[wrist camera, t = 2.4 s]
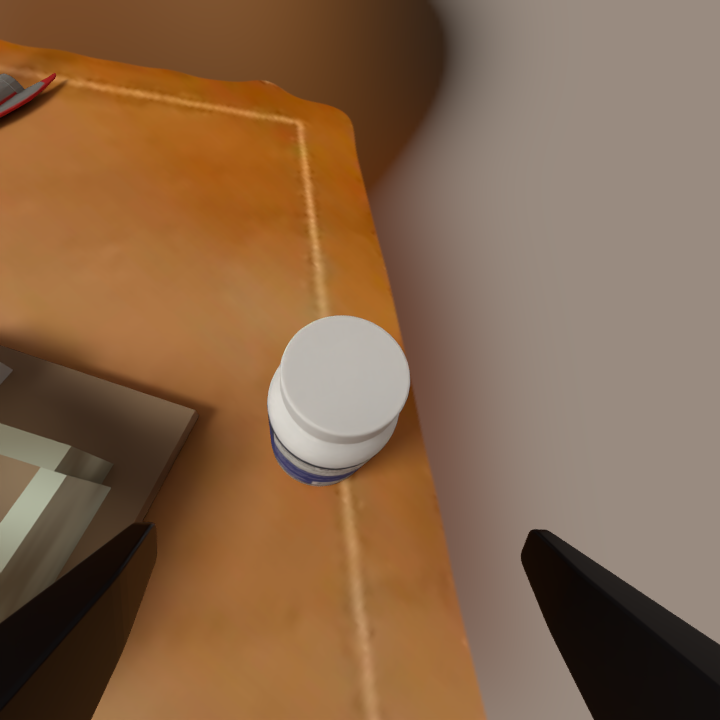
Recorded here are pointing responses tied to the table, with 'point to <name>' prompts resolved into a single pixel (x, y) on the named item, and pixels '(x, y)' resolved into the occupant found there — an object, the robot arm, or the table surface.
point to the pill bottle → (335, 398)
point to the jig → (73, 468)
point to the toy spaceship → (18, 92)
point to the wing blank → (4, 372)
